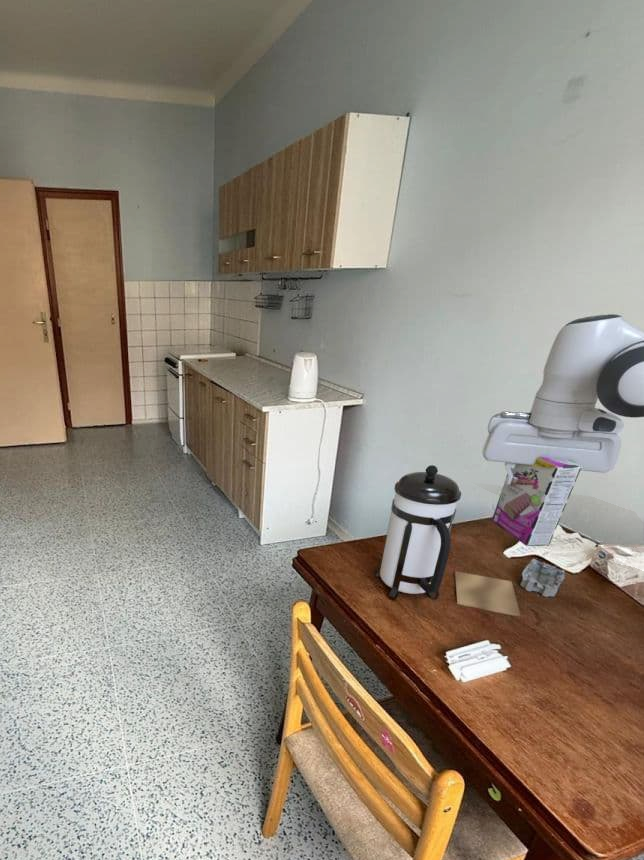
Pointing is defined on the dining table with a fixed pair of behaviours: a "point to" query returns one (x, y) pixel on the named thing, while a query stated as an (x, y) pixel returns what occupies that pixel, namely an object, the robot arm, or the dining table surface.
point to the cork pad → (486, 593)
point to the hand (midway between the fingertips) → (534, 487)
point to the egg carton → (542, 578)
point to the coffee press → (419, 533)
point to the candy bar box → (536, 499)
